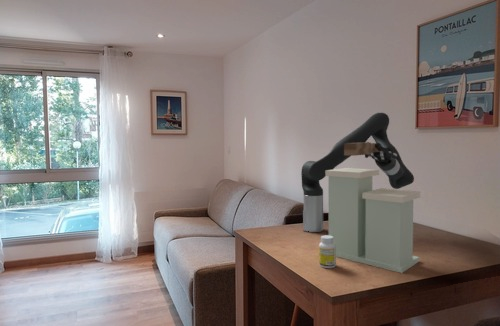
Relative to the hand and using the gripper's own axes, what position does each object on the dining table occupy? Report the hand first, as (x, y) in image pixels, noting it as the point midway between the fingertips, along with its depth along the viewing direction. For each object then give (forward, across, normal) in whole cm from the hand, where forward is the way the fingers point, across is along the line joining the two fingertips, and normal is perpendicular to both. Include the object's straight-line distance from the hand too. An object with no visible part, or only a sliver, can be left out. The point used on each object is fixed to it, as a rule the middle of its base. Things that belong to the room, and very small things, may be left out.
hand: (371, 144), depth 142 cm
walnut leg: (+4, 0, +6) cm, 7 cm away
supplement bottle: (+5, -1, +51) cm, 51 cm away
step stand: (-10, +6, +42) cm, 44 cm away
